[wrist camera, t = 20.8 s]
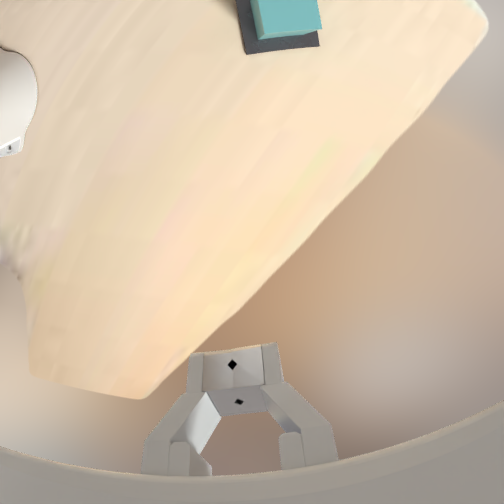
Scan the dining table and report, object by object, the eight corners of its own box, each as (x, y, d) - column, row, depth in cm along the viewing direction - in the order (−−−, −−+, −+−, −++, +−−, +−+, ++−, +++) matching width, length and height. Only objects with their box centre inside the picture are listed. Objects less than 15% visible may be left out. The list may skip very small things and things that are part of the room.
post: (246, 54, 33) (249, 53, 27) (233, -10, 28) (233, -24, 22) (318, 46, 33) (336, 44, 27) (306, -17, 28) (321, -31, 22)
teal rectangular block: (257, 39, 32) (264, 34, 25) (249, -1, 29) (254, -17, 22) (303, 34, 32) (322, 28, 24) (295, -6, 28) (312, -21, 21)
